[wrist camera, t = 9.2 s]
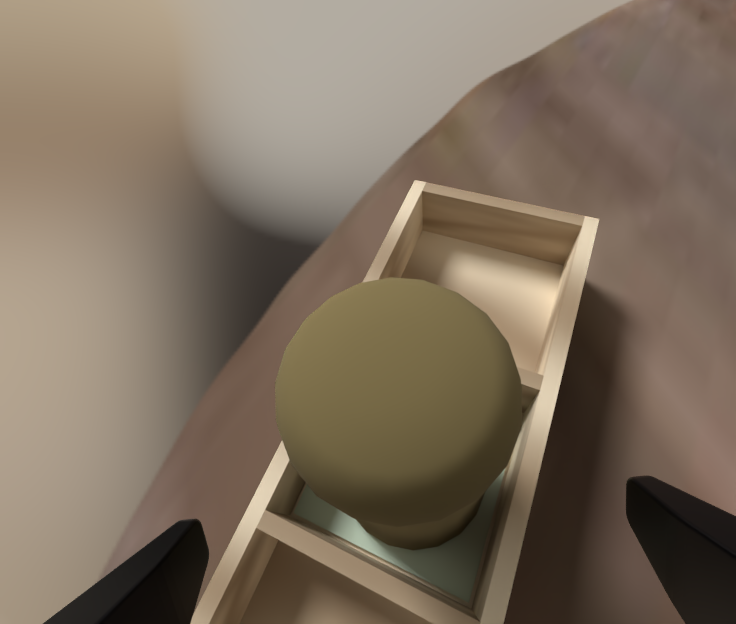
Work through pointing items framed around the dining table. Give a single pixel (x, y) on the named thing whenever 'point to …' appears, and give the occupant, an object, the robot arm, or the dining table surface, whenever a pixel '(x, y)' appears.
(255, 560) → the wooden compartment tray
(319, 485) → the cork
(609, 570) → the dining table surface
